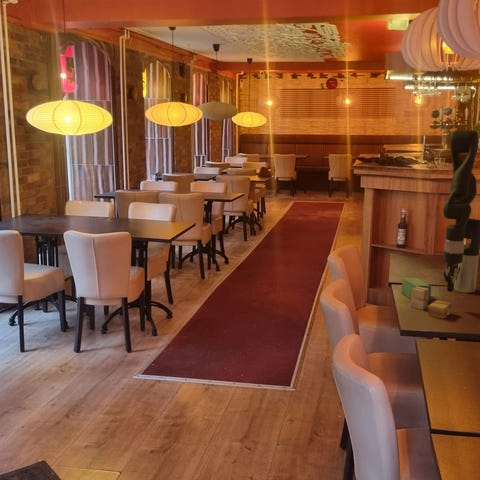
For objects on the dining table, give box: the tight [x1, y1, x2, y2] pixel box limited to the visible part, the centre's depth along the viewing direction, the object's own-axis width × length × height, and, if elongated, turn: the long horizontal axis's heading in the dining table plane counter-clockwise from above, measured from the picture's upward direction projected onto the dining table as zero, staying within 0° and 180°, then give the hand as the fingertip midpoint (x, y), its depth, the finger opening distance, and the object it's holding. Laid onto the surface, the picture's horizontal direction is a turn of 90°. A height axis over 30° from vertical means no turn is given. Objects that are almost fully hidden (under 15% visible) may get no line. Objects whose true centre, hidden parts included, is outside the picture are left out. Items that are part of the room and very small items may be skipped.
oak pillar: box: [427, 299, 452, 320], centre depth 244 cm, size 4×6×9 cm
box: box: [401, 277, 432, 302], centre depth 267 cm, size 7×14×8 cm, turn 10°
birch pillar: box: [410, 287, 429, 311], centre depth 253 cm, size 5×5×8 cm
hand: (450, 291), depth 252 cm, fingers closed
